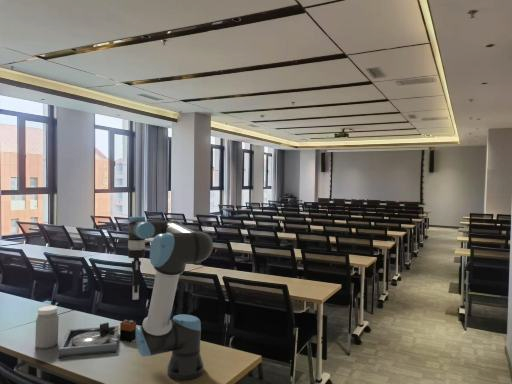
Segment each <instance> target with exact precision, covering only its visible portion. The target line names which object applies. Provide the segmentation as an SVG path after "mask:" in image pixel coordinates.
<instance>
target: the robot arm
mask: <svg viewBox="0 0 512 384" xmlns="http://www.w3.org/2000/svg"><path fill="white" fill-rule="evenodd" d="M148 239H152V241H151V244H150V246H149V261H150V264H151V265H152V266H153V269H154V270H155V276H154V277H155V278H154V282H153V289H152V292H151V296H150V297H151V299H150V304H149V309H148V314H147V316H146V317H145V318H144V319H143V321H142V324H141V325H138V326H136V340H135V342H136V347H137V350H138V354H139V355H140V356H141V357H151V356H155V355H159V354H160V355H161V354H164V353H165V354H166V353H170V352H171V356H170V359H169V361H168V365H167V370H166V373H167V376H168V377H170V378H171V379H173V380H178V381H190V380H194V379H197V378H199V377H201V376H202V375H203V374H204V368H205V367H204V361H203V359H202V355H201V335H202V334H201V333H202V326H201V320H200V318H198V317H197V316H195V315H191V314H185V313H183V314H177V315H174V316H173V318H172V319H171V316H172V311H173V305H174V301H175V296H176V293H177V288H178V283H179V277H180V276H181V275H182V274H183V273H184V271H185V270H186V265H191V264H198V263H201V262H203V261H205V260H207V259H208V258H209V257H210V256H211V254H212V253H213V249H214V242H213V239H212V237H211V236H210V235H209V234H207V233H205V232H203V231H201V230H193V229H190V228H188V227H186V226H184V224H183V221H180V220H166V221H164V220H163V221H161V220H160V221H157V220H156V221H152V220H151V221H146V217H145V216H140V215H139V216H137V215H136V216H130V217H129V218H128V240H127V241H128V242H127V248H128V250H127V251H128V252H127V257H128V258H129V259H133V260H131V265H132V266H131V267H132V268H131V269H132V284H131V287H132V300H133V301H134V300H139V298H140V293H139V292H140V285H141V283H140V272H141V265H142V261H141V260H140V259H143V258H145V256H146V255H145V254H146V253H145V252H146V251H145V247H146V246H145V244H147V241H146V240H148Z"/></svg>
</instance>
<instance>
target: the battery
mask: <svg viewBox="0 0 512 384" xmlns="http://www.w3.org/2000/svg"><path fill="white" fill-rule="evenodd" d="M136 328H137V321H134V320H133V319H130V320H128V319H123V321H121V322H120V326H119V330H120V331H119V341H122V342H127V343H132V342H134V341H136Z"/></svg>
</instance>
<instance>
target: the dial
mask: <svg viewBox="0 0 512 384" xmlns="http://www.w3.org/2000/svg"><path fill="white" fill-rule="evenodd" d="M99 327H100V332H98V331H97V332H87V333H82V334H79V335H77V336H75V337H74V338H73V339H72V347H74V346H85V345H97V344H107V343H109V341H110V335H109V327H110V323H109V322H104V323H100V324H99Z"/></svg>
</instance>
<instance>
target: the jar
mask: <svg viewBox="0 0 512 384" xmlns="http://www.w3.org/2000/svg"><path fill="white" fill-rule="evenodd" d="M59 317H60V316H59V315H58V306H57V305H44V306H40V307H39V308H38V309H37V317H36V318H35V338H34V340H35V343H34V344H35V345H34V346H35V347H36V348H37V349H40V350H45V349H51V348H54V347H55V346H57V344H58V343H59V321H60V320H59Z"/></svg>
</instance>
